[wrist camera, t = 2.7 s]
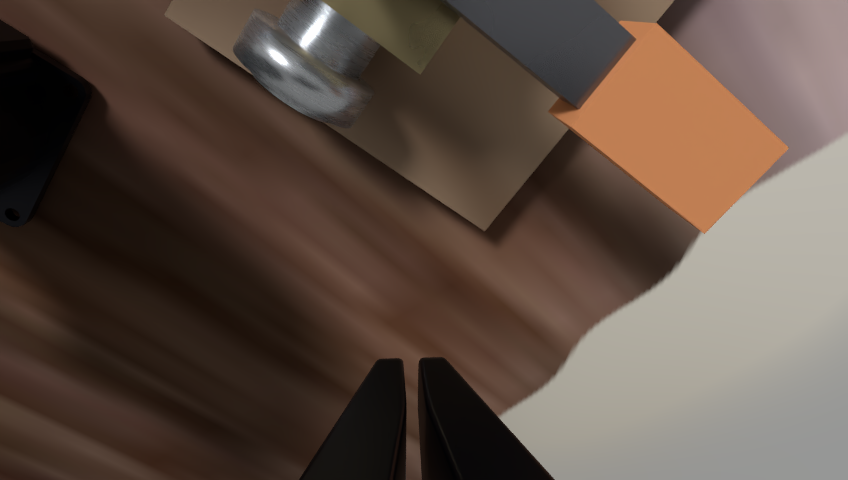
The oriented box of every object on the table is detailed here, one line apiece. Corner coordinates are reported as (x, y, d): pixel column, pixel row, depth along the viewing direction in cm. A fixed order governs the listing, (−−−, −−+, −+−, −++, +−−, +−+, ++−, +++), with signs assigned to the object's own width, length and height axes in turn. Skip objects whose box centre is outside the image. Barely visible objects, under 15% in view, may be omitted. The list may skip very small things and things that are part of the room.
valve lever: (311, -78, 11) (299, -92, 9) (380, -200, 10) (380, -239, 9) (668, 207, 14) (704, 233, 13) (740, 130, 14) (789, 148, 12)
